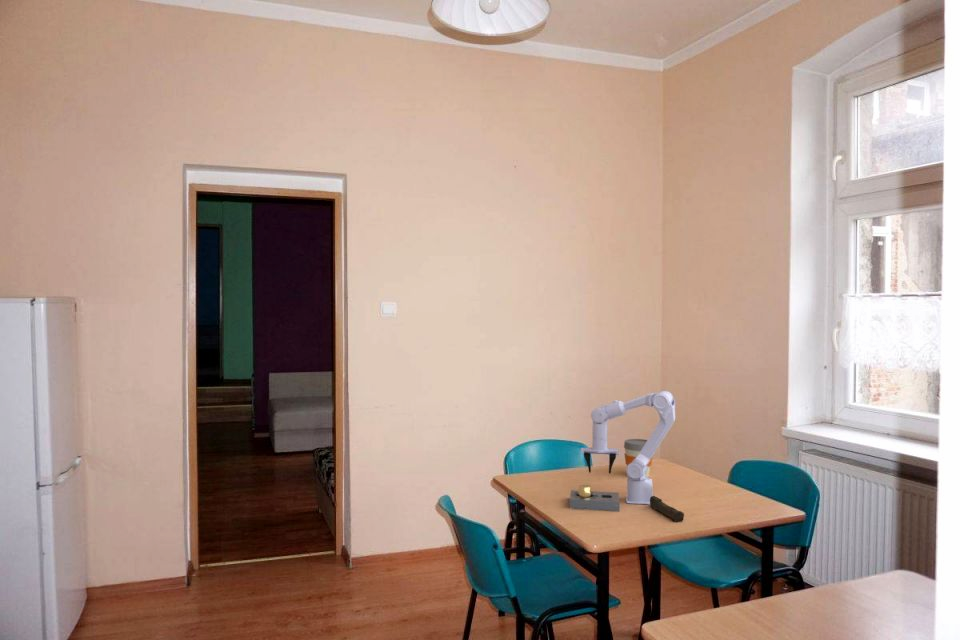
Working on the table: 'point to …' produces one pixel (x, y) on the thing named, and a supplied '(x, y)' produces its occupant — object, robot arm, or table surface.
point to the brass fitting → (584, 491)
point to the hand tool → (666, 509)
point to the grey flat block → (595, 501)
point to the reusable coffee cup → (635, 451)
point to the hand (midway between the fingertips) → (599, 472)
